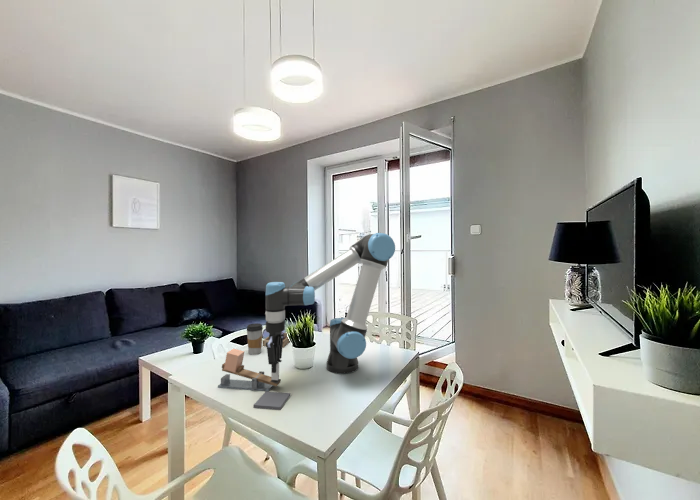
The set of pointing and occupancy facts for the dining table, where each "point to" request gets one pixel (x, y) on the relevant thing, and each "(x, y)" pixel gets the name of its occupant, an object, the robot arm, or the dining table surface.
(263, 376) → the lever
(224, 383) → the fulcrum
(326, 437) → the dining table surface
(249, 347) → the coffee cup
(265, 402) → the pad
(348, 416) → the dining table surface
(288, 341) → the rock tray
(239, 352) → the block
